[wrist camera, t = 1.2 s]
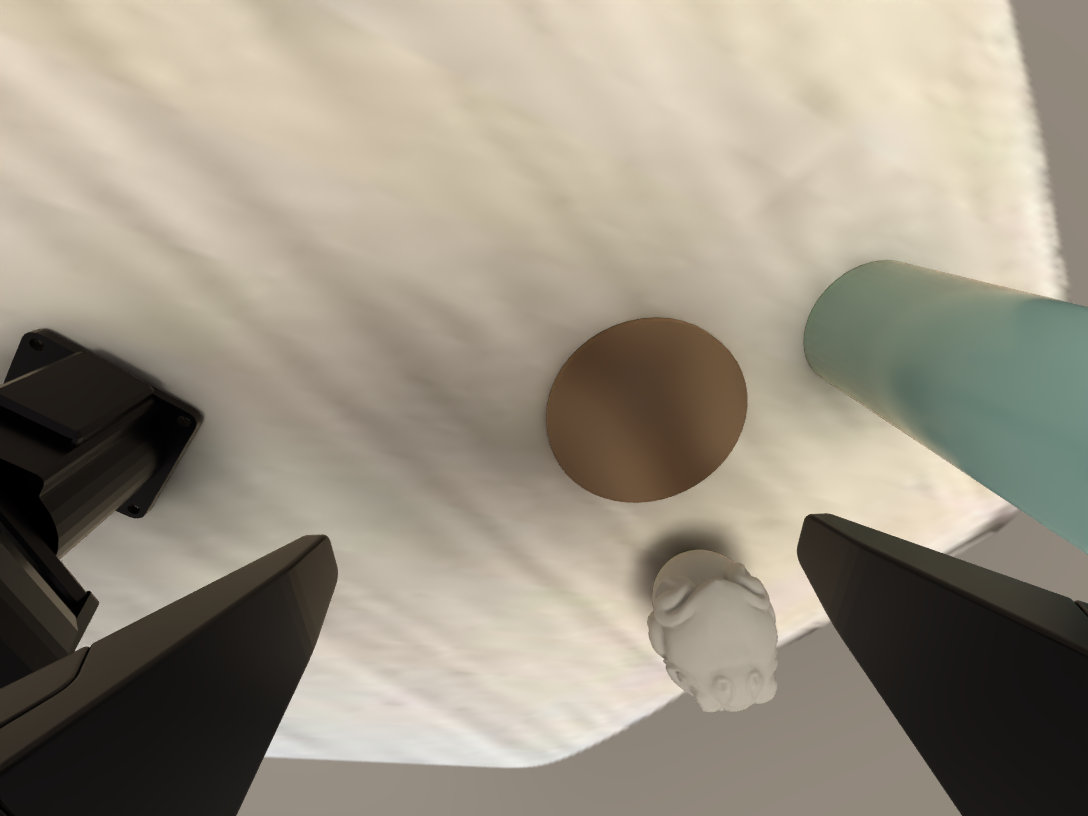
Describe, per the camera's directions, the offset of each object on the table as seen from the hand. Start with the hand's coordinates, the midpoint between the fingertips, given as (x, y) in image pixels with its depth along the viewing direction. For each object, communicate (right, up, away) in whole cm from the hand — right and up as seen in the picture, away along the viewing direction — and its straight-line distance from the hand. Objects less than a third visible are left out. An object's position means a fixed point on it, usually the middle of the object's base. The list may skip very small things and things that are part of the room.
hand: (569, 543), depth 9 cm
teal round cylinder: (+14, +6, +12) cm, 19 cm away
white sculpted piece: (+7, -6, +18) cm, 20 cm away
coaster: (+4, +2, +13) cm, 14 cm away
